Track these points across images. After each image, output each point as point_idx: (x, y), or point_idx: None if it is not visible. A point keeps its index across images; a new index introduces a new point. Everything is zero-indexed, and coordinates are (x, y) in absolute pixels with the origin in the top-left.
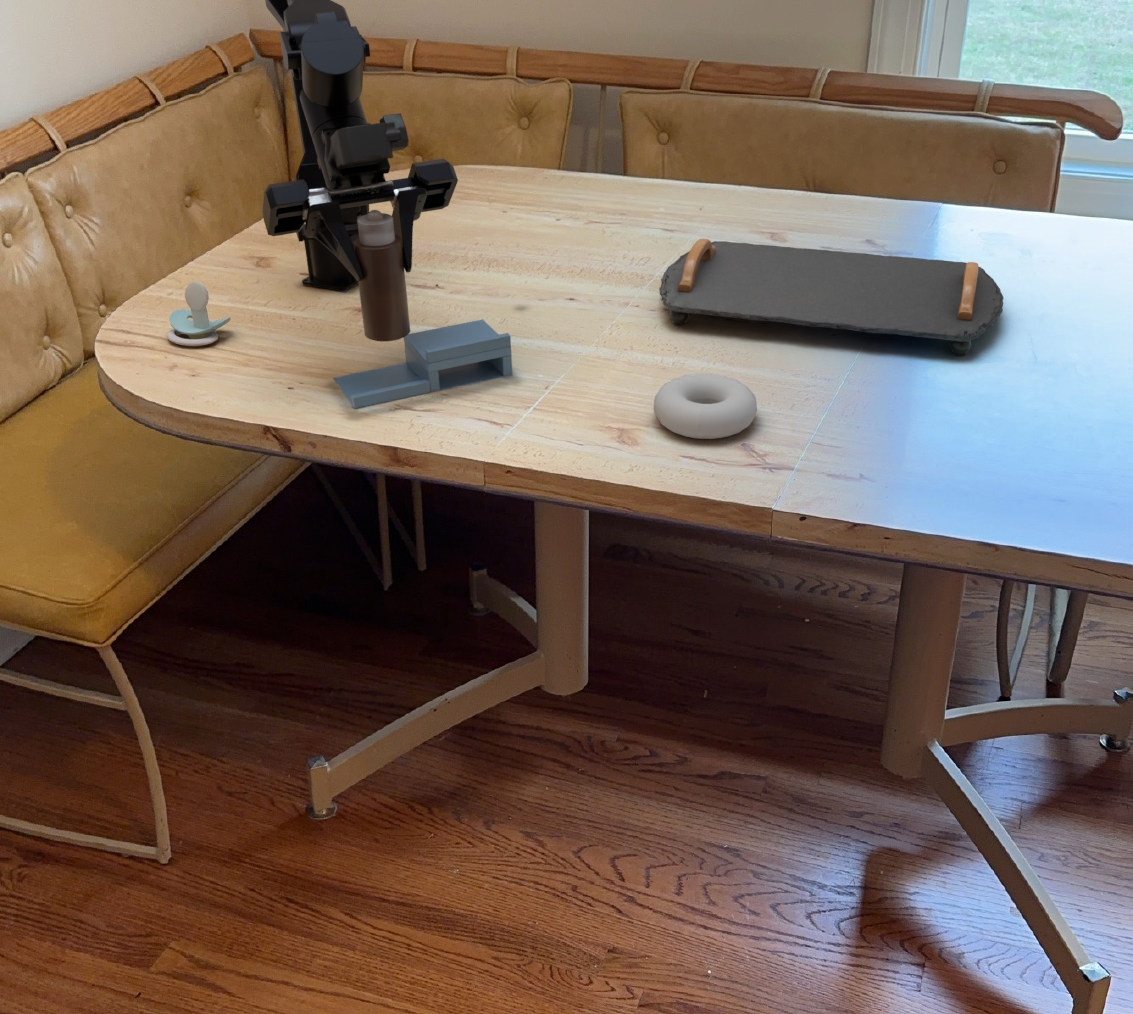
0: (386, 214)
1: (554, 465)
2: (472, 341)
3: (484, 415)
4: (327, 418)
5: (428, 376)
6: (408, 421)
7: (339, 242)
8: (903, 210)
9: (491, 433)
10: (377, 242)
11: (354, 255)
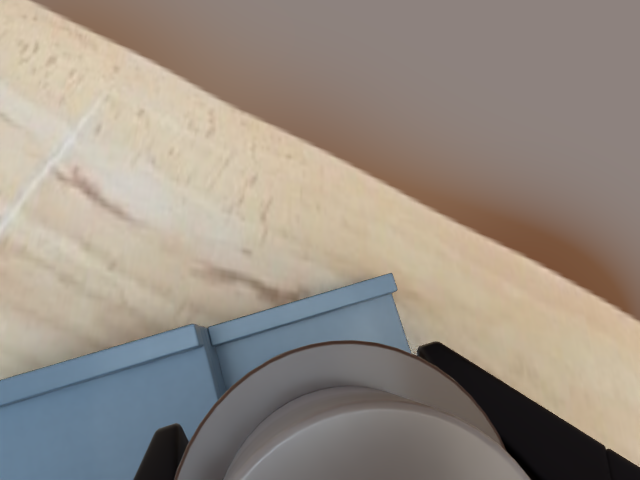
0: None
1: (8, 6)
2: (45, 378)
3: (104, 229)
4: (440, 280)
5: (207, 334)
6: (270, 233)
7: (629, 464)
8: None
9: (103, 148)
10: (350, 387)
11: (490, 410)
